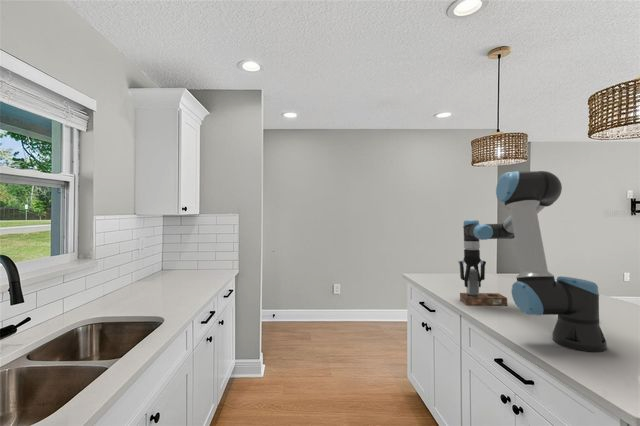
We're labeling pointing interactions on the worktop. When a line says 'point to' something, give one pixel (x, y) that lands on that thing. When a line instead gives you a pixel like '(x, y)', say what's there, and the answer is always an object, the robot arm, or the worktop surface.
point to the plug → (473, 282)
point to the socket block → (484, 299)
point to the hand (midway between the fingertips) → (472, 293)
